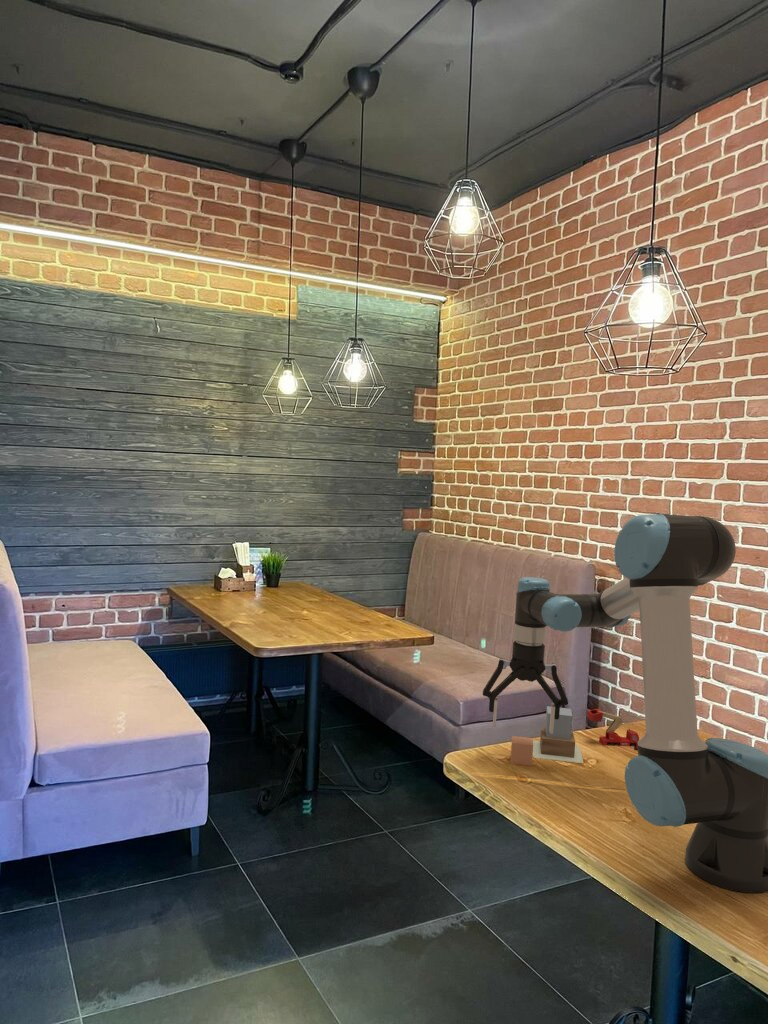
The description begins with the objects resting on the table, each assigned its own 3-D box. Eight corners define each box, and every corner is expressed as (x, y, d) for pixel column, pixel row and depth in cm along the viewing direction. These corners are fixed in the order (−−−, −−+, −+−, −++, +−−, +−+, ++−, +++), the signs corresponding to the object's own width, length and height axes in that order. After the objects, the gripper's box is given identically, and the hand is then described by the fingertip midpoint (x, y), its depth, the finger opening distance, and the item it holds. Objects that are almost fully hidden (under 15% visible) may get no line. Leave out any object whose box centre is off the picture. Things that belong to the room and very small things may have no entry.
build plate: (583, 767, 184) (583, 763, 184) (533, 761, 186) (533, 757, 186) (579, 749, 196) (579, 746, 196) (531, 744, 198) (532, 740, 197)
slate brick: (570, 739, 188) (572, 716, 188) (546, 737, 189) (547, 713, 189) (569, 731, 194) (570, 708, 194) (545, 729, 195) (546, 706, 195)
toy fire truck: (640, 750, 198) (643, 714, 197) (589, 748, 197) (591, 712, 196) (635, 745, 201) (638, 710, 201) (584, 744, 200) (587, 708, 200)
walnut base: (574, 757, 187) (575, 741, 187) (541, 754, 188) (542, 738, 188) (571, 746, 195) (572, 731, 195) (540, 742, 196) (541, 727, 196)
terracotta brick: (531, 770, 180) (533, 745, 180) (510, 767, 181) (511, 742, 181) (531, 762, 185) (532, 738, 185) (510, 759, 186) (512, 735, 186)
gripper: (581, 643, 183) (574, 729, 185) (477, 633, 187) (471, 717, 189) (583, 651, 176) (576, 740, 177) (476, 640, 180) (470, 727, 181)
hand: (522, 728), depth 183 cm, fingers open, 13 cm apart
